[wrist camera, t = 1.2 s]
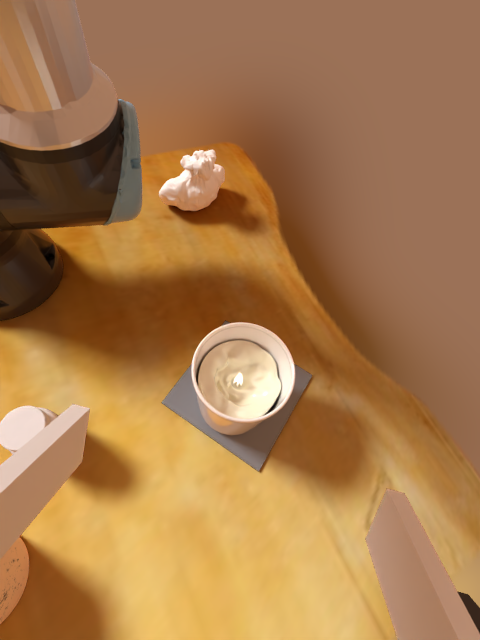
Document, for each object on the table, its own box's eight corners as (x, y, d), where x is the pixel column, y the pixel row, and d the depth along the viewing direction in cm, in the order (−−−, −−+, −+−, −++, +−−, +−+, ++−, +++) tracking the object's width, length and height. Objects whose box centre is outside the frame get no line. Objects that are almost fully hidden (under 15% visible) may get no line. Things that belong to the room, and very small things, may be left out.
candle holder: (261, 359, 45) (281, 316, 34) (278, 434, 40) (308, 412, 30) (187, 369, 43) (185, 327, 32) (197, 449, 39) (198, 431, 28)
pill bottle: (47, 474, 36) (9, 468, 29) (23, 441, 37) (-20, 427, 30) (86, 441, 38) (60, 427, 31) (61, 411, 39) (31, 390, 32)
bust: (165, 225, 57) (185, 212, 47) (144, 181, 55) (161, 157, 45) (223, 201, 61) (252, 184, 51) (205, 159, 59) (233, 133, 49)
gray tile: (161, 403, 41) (161, 402, 41) (225, 321, 47) (225, 320, 47) (258, 471, 39) (258, 471, 38) (311, 375, 45) (312, 375, 45)
